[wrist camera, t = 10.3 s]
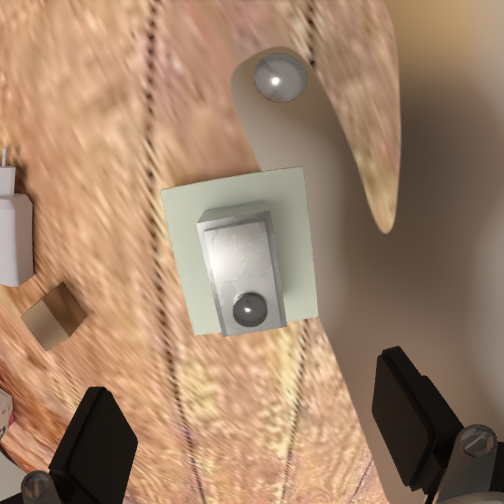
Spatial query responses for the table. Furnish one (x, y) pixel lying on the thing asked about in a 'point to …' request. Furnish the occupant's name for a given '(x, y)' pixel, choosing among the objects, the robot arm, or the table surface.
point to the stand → (284, 227)
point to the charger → (14, 230)
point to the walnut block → (54, 317)
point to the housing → (243, 267)
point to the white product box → (5, 412)
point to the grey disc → (280, 77)
